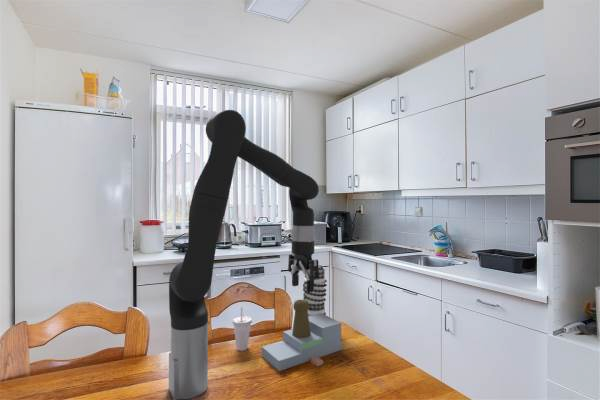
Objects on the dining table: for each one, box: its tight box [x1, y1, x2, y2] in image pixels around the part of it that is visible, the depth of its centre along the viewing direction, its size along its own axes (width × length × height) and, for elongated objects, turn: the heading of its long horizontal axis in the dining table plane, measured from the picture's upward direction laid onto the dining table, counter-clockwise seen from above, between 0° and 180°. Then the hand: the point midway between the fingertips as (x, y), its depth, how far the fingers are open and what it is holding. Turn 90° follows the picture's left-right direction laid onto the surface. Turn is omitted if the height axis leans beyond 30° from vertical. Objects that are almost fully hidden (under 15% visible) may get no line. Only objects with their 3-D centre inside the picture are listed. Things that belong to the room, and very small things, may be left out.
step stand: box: [261, 313, 342, 372], centre depth 103 cm, size 24×11×9 cm, turn 124°
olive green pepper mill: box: [292, 299, 311, 338], centre depth 103 cm, size 6×6×11 cm
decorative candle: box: [302, 264, 328, 316], centre depth 121 cm, size 9×9×25 cm
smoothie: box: [232, 306, 253, 352], centre depth 106 cm, size 6×6×14 cm
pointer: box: [310, 357, 324, 367], centre depth 97 cm, size 2×4×1 cm, turn 34°
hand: (302, 288), depth 103 cm, fingers open, 8 cm apart
